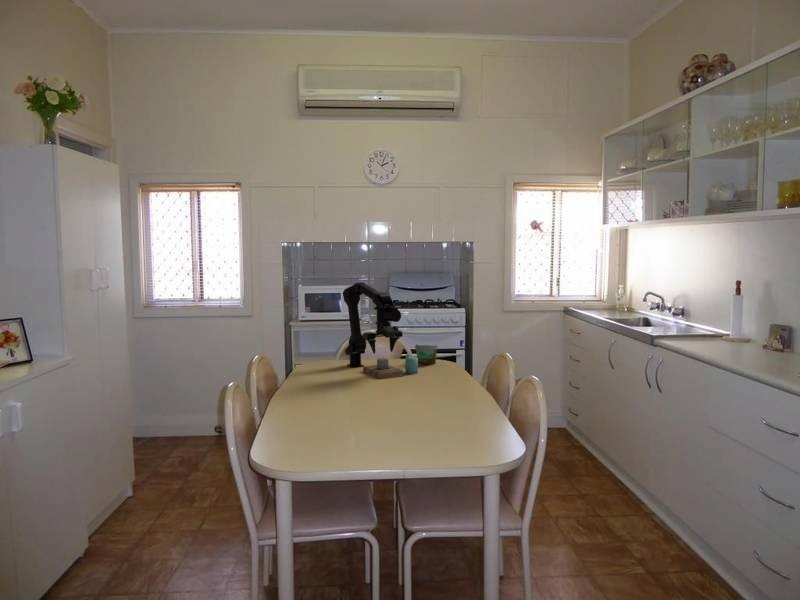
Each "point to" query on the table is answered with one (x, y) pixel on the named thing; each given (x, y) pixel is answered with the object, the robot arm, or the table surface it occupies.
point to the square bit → (382, 363)
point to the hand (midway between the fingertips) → (382, 352)
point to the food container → (426, 354)
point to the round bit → (411, 365)
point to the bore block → (383, 371)
